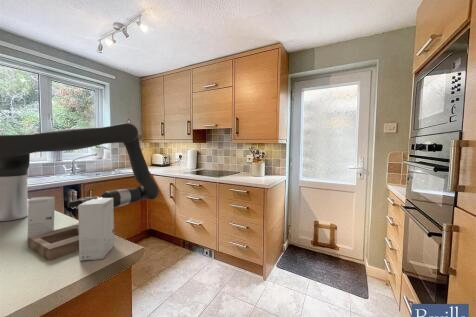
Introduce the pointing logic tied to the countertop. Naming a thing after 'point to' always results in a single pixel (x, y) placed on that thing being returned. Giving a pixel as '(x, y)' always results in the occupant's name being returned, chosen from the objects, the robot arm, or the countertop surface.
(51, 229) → the skincare box
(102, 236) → the skincare box
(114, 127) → the robot arm
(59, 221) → the countertop surface
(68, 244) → the socket block
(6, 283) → the countertop surface
